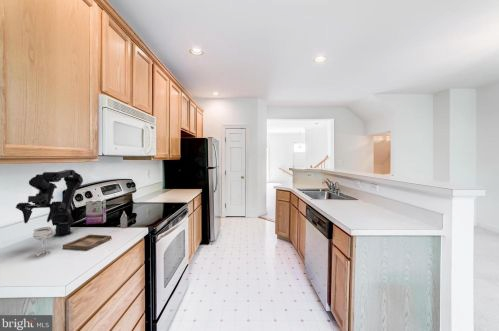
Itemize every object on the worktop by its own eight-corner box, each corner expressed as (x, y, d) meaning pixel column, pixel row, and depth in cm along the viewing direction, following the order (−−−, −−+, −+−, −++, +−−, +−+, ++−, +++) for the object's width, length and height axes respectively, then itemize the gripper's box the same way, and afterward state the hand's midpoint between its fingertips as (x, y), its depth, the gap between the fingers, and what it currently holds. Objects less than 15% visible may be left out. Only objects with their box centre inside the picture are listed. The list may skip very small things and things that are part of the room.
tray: (89, 237, 126) (89, 234, 126) (111, 239, 124) (111, 235, 124) (62, 248, 110) (62, 245, 110) (87, 250, 108) (87, 246, 108)
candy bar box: (106, 221, 159) (106, 199, 159) (103, 223, 154) (103, 200, 154) (89, 222, 157) (89, 200, 156) (85, 224, 152) (85, 201, 151)
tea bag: (120, 228, 144) (120, 213, 144) (121, 225, 150) (120, 211, 150) (126, 227, 146) (126, 212, 146) (127, 224, 152) (127, 210, 152)
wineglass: (40, 257, 101) (40, 231, 100) (29, 255, 102) (29, 230, 102) (56, 251, 107) (56, 227, 107) (45, 250, 109) (45, 226, 108)
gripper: (13, 188, 106) (1, 220, 100) (58, 187, 111) (49, 217, 104) (28, 195, 116) (18, 225, 109) (69, 194, 121) (61, 222, 114)
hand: (36, 222), depth 109 cm, fingers open, 9 cm apart
